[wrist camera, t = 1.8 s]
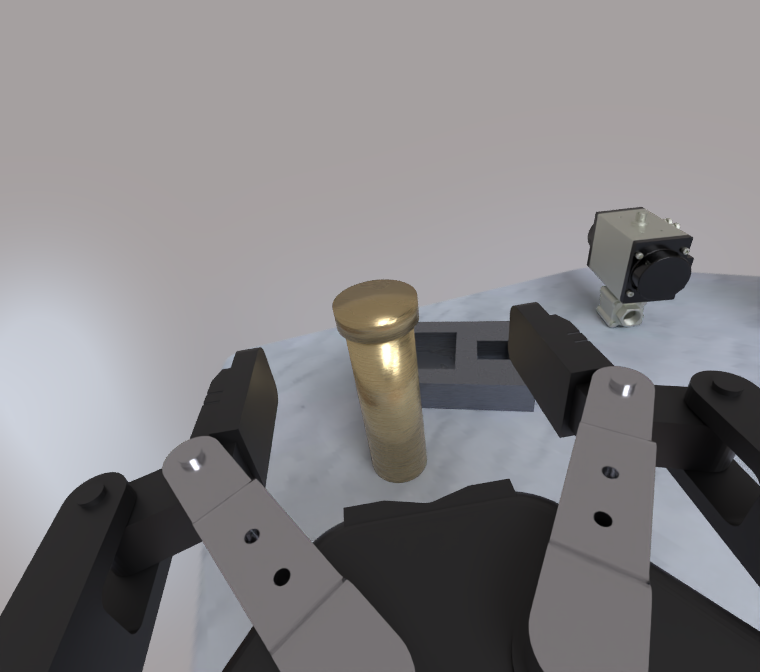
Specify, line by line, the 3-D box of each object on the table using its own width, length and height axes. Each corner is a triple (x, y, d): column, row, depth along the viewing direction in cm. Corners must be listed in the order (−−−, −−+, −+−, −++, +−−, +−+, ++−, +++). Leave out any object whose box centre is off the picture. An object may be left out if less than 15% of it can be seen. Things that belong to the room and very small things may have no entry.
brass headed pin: (434, 436, 34) (421, 278, 26) (429, 490, 30) (411, 321, 22) (374, 433, 36) (344, 280, 27) (362, 484, 31) (321, 322, 23)
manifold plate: (522, 344, 43) (523, 321, 42) (533, 411, 35) (536, 385, 34) (393, 344, 46) (390, 322, 45) (377, 406, 38) (373, 382, 37)
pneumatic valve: (619, 351, 40) (647, 236, 34) (576, 295, 50) (592, 197, 43) (678, 347, 40) (719, 229, 33) (623, 291, 49) (646, 191, 43)
